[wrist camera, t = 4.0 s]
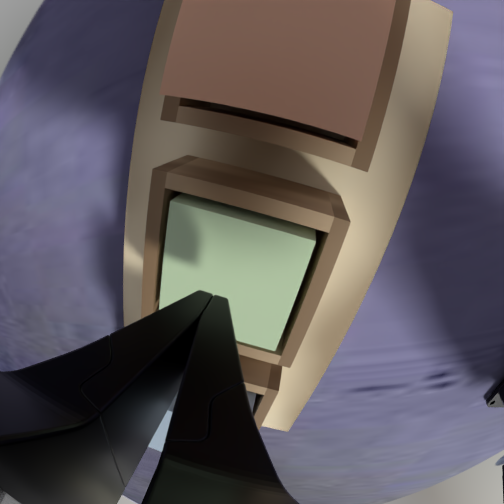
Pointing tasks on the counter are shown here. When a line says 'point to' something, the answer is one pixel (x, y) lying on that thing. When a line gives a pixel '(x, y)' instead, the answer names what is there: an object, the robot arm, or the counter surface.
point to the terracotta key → (282, 58)
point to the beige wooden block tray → (287, 193)
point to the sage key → (236, 263)
